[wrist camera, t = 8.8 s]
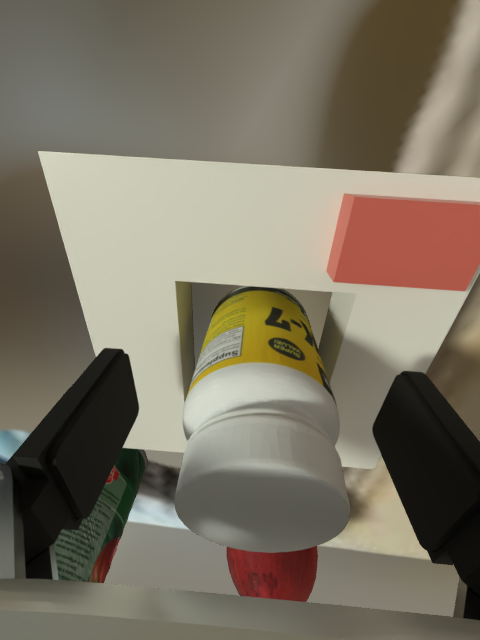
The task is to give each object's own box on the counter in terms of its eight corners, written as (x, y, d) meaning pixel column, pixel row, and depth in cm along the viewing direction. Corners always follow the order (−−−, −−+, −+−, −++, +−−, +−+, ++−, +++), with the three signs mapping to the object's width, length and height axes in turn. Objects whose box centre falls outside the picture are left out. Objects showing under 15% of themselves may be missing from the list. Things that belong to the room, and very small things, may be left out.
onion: (225, 498, 22) (210, 652, 15) (241, 458, 19) (232, 627, 12) (292, 511, 22) (308, 666, 15) (319, 474, 19) (353, 645, 12)
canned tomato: (37, 403, 17) (-233, 698, 8) (156, 435, 18) (46, 731, 9) (42, 468, 21) (-133, 716, 12) (140, 491, 22) (51, 738, 13)
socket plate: (85, 154, 10) (10, 149, 7) (467, 177, 10) (565, 182, 7) (138, 411, 17) (113, 465, 14) (358, 429, 17) (381, 488, 14)
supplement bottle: (326, 331, 13) (411, 534, 6) (253, 375, 15) (249, 575, 8) (266, 259, 12) (281, 418, 4) (191, 318, 13) (112, 504, 6)
